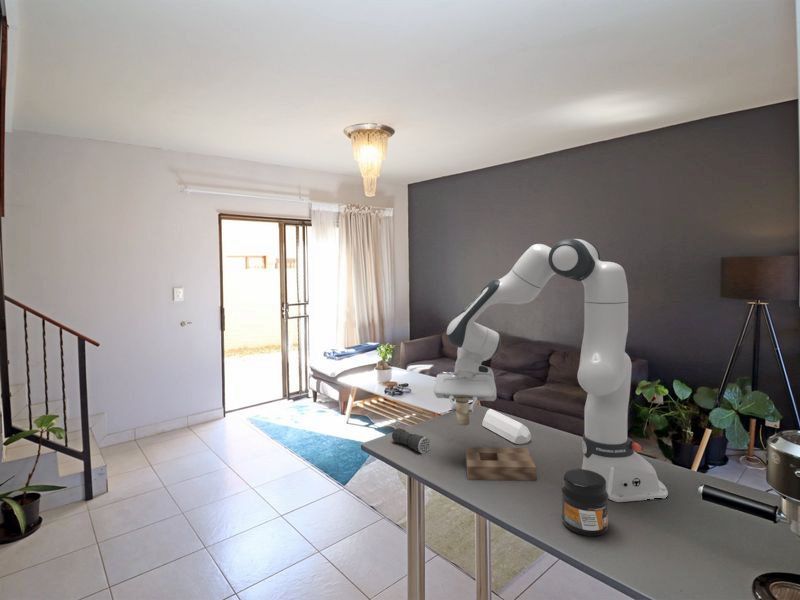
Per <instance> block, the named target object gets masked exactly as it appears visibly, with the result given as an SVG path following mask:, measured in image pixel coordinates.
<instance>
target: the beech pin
mask: <svg viewBox="0 0 800 600" xmlns="http://www.w3.org/2000/svg"><path fill="white" fill-rule="evenodd" d="M469 401H470V400H469V398H467V397H457V398H456V399H455V404H456V411H455V413H456V414H455V416H456V417H455V418H456V425H457V426H463V427H464V426H469V425H470V412H469V411H468V405H470V403H469Z"/></svg>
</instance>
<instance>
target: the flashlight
mask: <svg viewBox="0 0 800 600" xmlns="http://www.w3.org/2000/svg"><path fill="white" fill-rule="evenodd" d="M391 439H392V440H393V442H395V443H397V444H401V445H405V446H408V447H409V448H411V449H413V450H414V451H416V452H418V453H420V454H425V453H427V452H429V450H430V447H431V441H430V439H429V438H428V437H426V436H423V435H419V434H416V433H414V434H413V433H411V432H409V431H406V429H403V428H400V427H397V428H394V430H392V433H391Z"/></svg>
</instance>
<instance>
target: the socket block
mask: <svg viewBox="0 0 800 600" xmlns="http://www.w3.org/2000/svg"><path fill="white" fill-rule="evenodd" d="M464 451H465V467H466V474H467V479H468V480H485V481H487V480H488V481H489V480H490V481H493V480H496V481H502V480H503V481H537V466H536V464H535V462H534V460H533V457H532V456H531V454H530V451H529V450H528V447H487V446H485V447H484V446H483V447H481V446H479V447H478V446H476V447H475V446H473V447H472V446H471V447H470V446H468V447H467V446H466V447H465V449H464Z"/></svg>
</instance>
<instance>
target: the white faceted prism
mask: <svg viewBox="0 0 800 600" xmlns="http://www.w3.org/2000/svg"><path fill="white" fill-rule="evenodd" d="M482 427H484V428H486V429H488V430H490V431H492V432H493V433H495V434H497V435H499V436H501V437H502V438H504V439H506V440H508V441H509V442H511V443H513V444H515V445H524V444H528V443H529V441H531V439H532V438H531V437H532V434H531V432H530V430H529V428H528V427H527V426H526V425H524V424H523V423H522V422H519V421H517V420H515V419H514V418H511V417H509V416H507V415H504V414H502V413H500V412H498V411H496V410H494V409H492V408H489V409H488V410H486V412H485V415H484V417H483V420H482Z"/></svg>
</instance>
